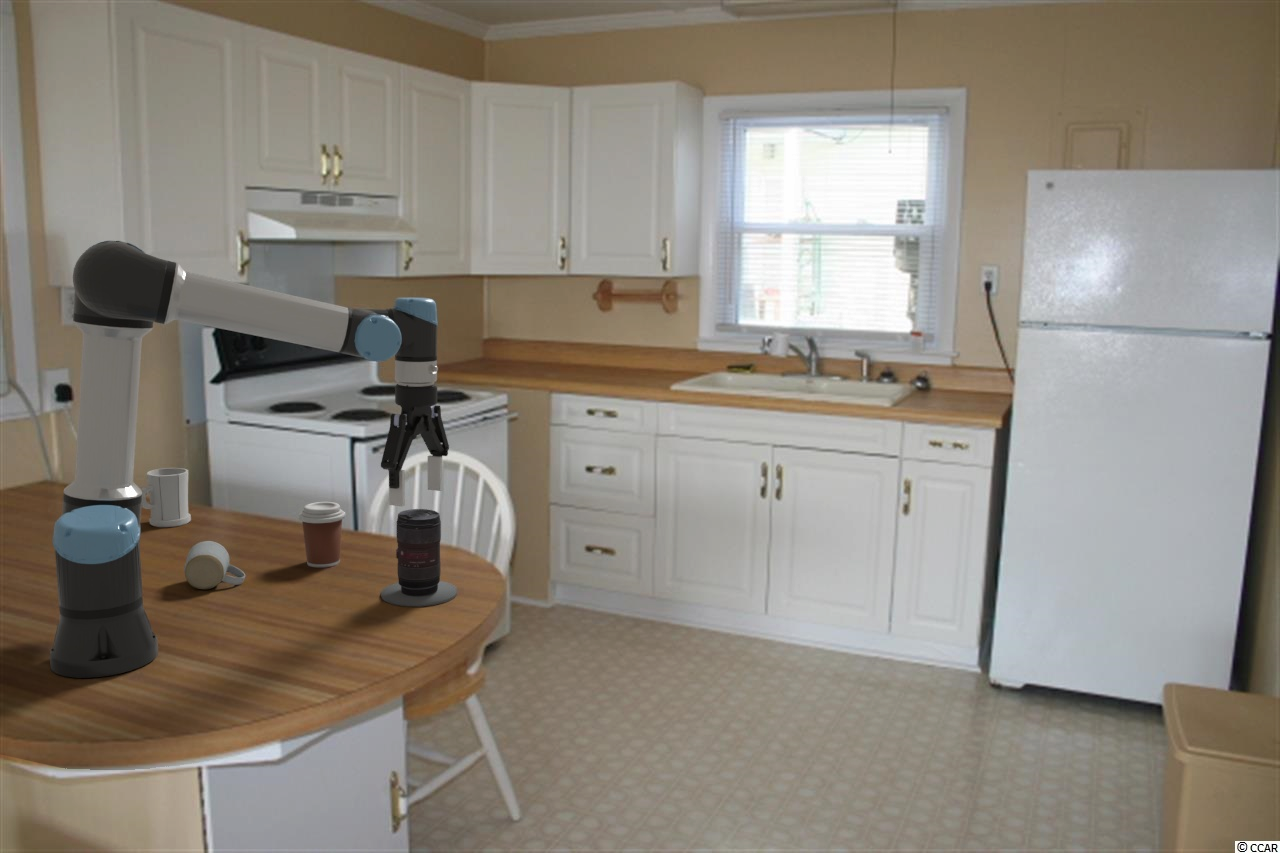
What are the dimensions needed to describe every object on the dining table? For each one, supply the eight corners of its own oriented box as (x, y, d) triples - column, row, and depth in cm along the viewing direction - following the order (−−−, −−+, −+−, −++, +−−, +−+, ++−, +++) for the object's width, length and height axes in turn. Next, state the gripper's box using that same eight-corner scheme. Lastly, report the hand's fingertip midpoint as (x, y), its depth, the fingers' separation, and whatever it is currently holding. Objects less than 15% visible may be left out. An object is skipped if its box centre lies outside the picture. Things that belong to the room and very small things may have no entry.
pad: (433, 610, 195) (433, 607, 195) (366, 601, 199) (366, 597, 199) (470, 587, 208) (470, 584, 208) (406, 579, 213) (406, 575, 212)
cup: (178, 530, 244) (175, 477, 242) (137, 529, 244) (134, 477, 242) (197, 518, 254) (195, 468, 252) (158, 517, 254) (156, 467, 252)
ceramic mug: (183, 592, 202) (182, 553, 201) (188, 579, 210) (186, 541, 208) (244, 589, 205) (243, 550, 204) (246, 576, 213) (245, 538, 211)
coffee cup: (312, 572, 216) (310, 513, 214) (292, 561, 222) (290, 504, 220) (354, 564, 222) (353, 506, 219) (334, 553, 228) (332, 498, 226)
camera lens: (414, 601, 198) (413, 521, 195) (389, 590, 203) (387, 513, 201) (450, 591, 204) (449, 514, 201) (424, 581, 209) (423, 506, 207)
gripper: (397, 393, 184) (398, 514, 188) (467, 377, 207) (466, 485, 211) (359, 389, 186) (360, 509, 190) (432, 374, 210) (432, 482, 213)
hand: (416, 497), depth 200 cm, fingers open, 13 cm apart
